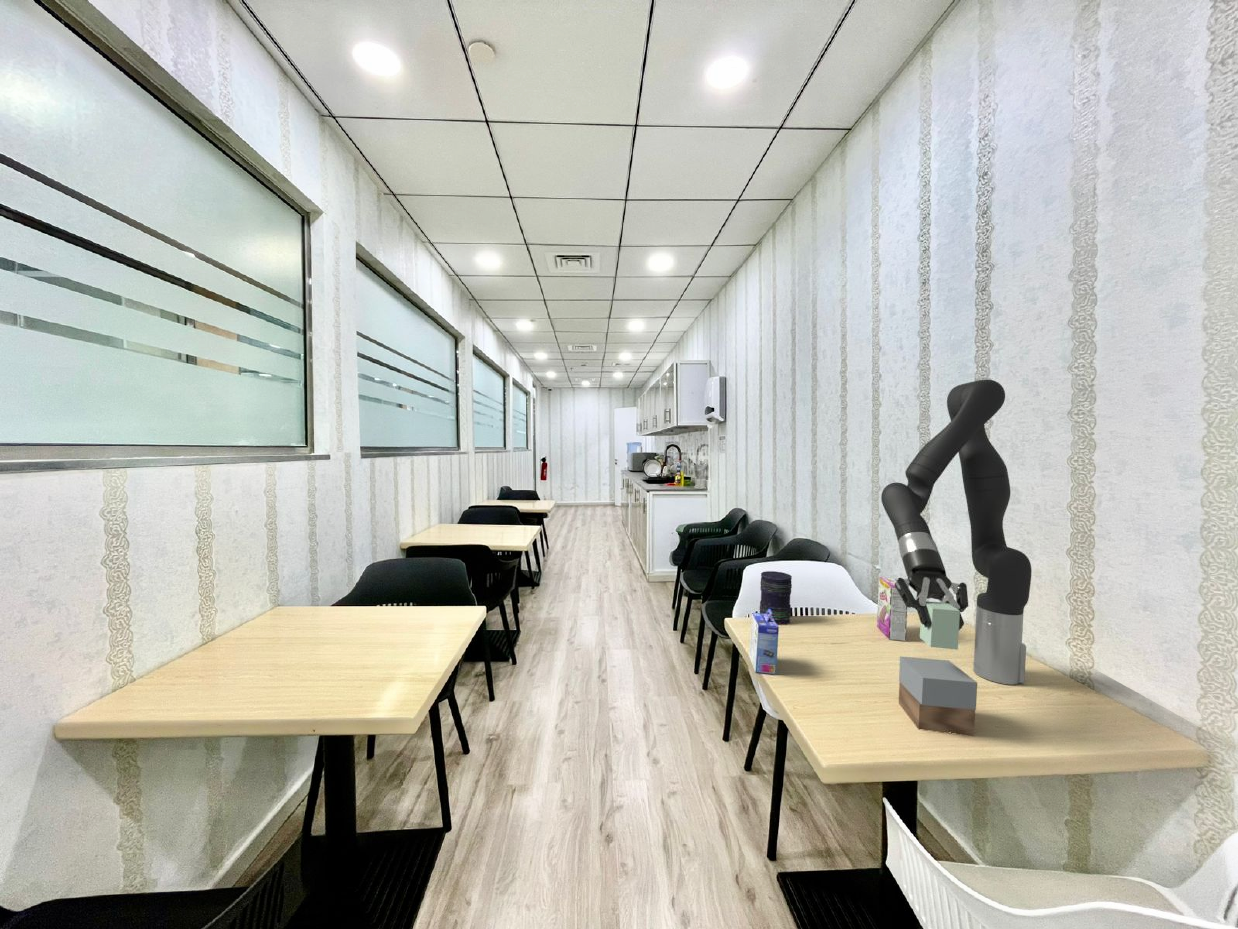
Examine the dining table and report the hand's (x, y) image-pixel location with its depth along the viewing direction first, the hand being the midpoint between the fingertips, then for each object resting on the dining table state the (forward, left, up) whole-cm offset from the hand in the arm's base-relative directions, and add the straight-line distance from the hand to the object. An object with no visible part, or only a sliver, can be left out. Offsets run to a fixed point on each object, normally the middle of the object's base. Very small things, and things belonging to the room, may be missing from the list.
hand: (943, 627), depth 96 cm
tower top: (0, -2, -15) cm, 15 cm away
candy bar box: (-9, -51, -20) cm, 56 cm away
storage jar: (+25, -55, -20) cm, 64 cm away
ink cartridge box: (+33, -19, -20) cm, 43 cm away
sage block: (0, -2, -4) cm, 5 cm away
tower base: (0, -2, -21) cm, 21 cm away
